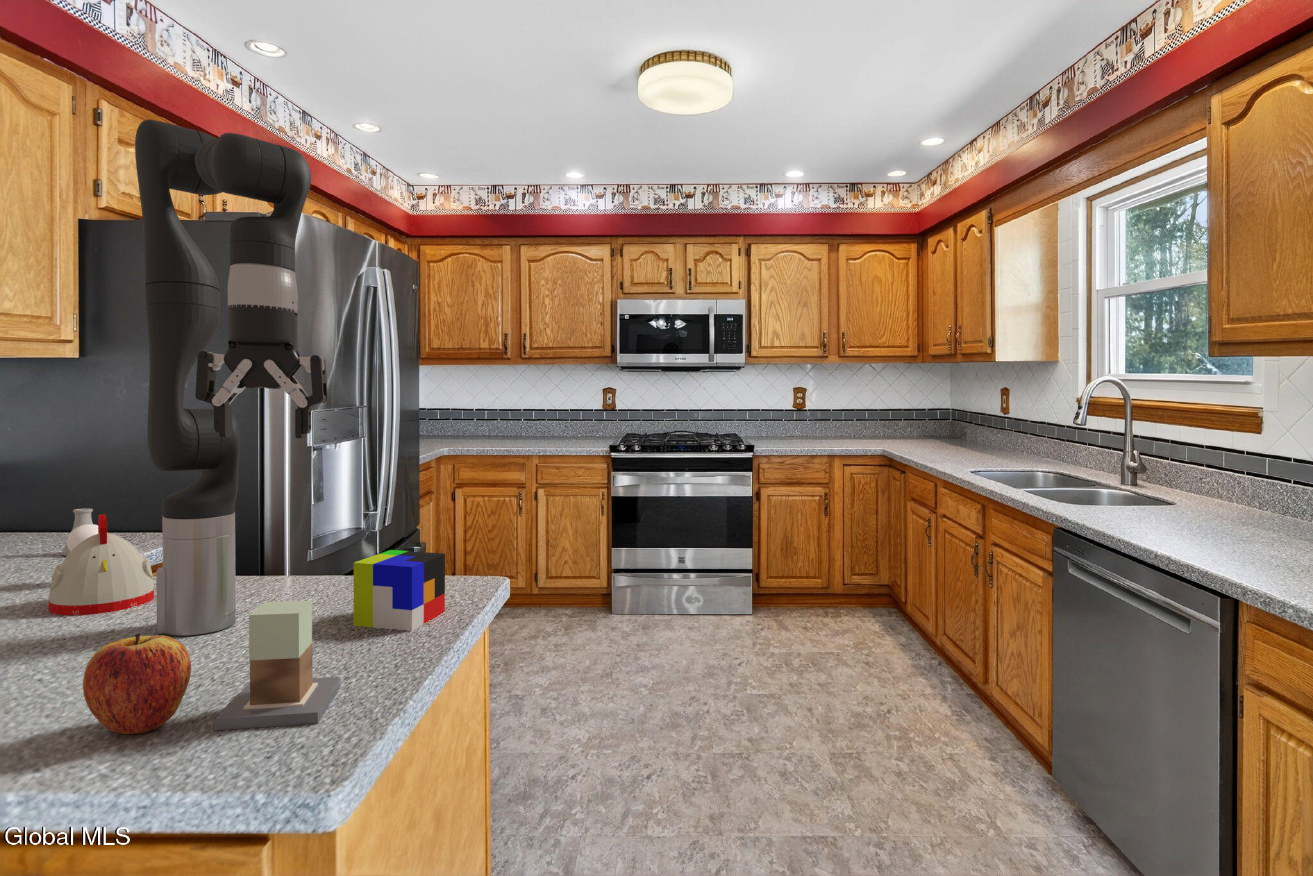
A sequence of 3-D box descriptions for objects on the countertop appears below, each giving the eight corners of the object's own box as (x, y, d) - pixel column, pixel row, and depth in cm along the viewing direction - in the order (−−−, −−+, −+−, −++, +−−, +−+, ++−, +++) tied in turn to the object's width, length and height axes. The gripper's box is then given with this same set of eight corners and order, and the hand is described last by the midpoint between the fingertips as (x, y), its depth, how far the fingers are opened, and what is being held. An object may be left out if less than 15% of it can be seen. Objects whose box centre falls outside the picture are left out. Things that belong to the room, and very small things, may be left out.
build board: (215, 730, 73) (215, 717, 73) (250, 691, 82) (250, 680, 82) (317, 723, 75) (317, 710, 75) (340, 686, 85) (340, 675, 84)
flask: (53, 556, 150) (52, 511, 149) (86, 550, 157) (85, 506, 157) (81, 558, 149) (80, 512, 148) (113, 551, 156) (112, 507, 155)
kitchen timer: (48, 621, 107) (46, 525, 106) (49, 601, 118) (47, 513, 117) (158, 605, 116) (157, 517, 116) (150, 588, 127) (149, 506, 126)
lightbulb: (103, 577, 134) (102, 520, 133) (114, 582, 130) (113, 524, 130) (63, 583, 129) (62, 524, 128) (73, 588, 125) (72, 528, 125)
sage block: (249, 660, 75) (249, 615, 75) (265, 644, 80) (265, 602, 80) (298, 658, 76) (298, 613, 76) (312, 642, 81) (311, 600, 81)
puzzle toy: (411, 631, 106) (412, 567, 105) (353, 626, 108) (353, 562, 107) (444, 613, 115) (445, 553, 115) (390, 608, 117) (390, 549, 117)
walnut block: (250, 705, 76) (249, 660, 75) (266, 687, 81) (265, 644, 80) (299, 702, 77) (299, 657, 76) (312, 684, 82) (312, 642, 81)
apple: (68, 755, 67) (67, 653, 67) (100, 716, 75) (98, 626, 75) (180, 739, 71) (179, 642, 70) (198, 704, 79) (198, 617, 79)
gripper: (184, 298, 80) (185, 438, 81) (317, 305, 83) (317, 439, 84) (212, 307, 88) (213, 435, 88) (333, 313, 90) (333, 437, 91)
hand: (263, 437), depth 86 cm, fingers open, 8 cm apart
